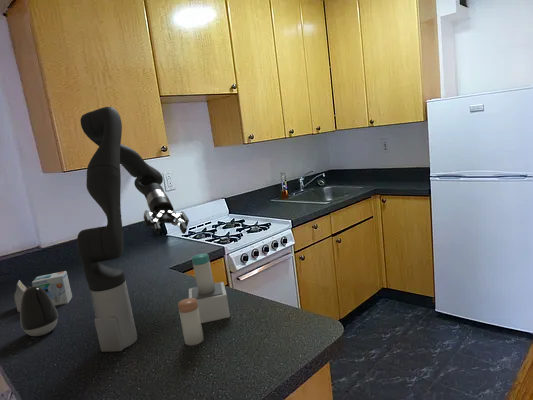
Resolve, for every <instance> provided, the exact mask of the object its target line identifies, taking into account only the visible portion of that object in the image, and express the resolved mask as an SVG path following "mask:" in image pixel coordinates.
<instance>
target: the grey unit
mask: <svg viewBox="0 0 533 400" xmlns="http://www.w3.org/2000/svg"><path fill="white" fill-rule="evenodd" d="M214 287H215V290H214V291H213V292H211V293H208V294H199V292H198V287H197V286H196V287H191V288H188V298H195V299H197V304H198V309H199V315H200V320H201V324H204V323H209V322H214V321H218V320H222V319H226V318H230V317H231V314H230V308H229V302H228V300H229V299H228V295H227V291H226V287H225V283H224V281H220V282H214Z"/></svg>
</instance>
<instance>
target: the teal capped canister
mask: <svg viewBox="0 0 533 400" xmlns="http://www.w3.org/2000/svg"><path fill="white" fill-rule="evenodd" d="M191 262H192V268H193V271H194V276H195V281H196V287H198V292H199V294H208V293H211V292H213V291H214V290H215V287H214V284H215V282H214V277H213V273H212V268H211V267H212V266H211V261H210V256H209V254H208V253H206V252H205V253H199V254H195V255H193V256H192V257H191Z"/></svg>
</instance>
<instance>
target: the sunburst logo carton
mask: <svg viewBox="0 0 533 400" xmlns="http://www.w3.org/2000/svg"><path fill="white" fill-rule="evenodd" d="M26 288H27V286H26V285H24V284H23V282H22V281H21V279H20V280H18V281H17V283H16V289H15V292H14V295H13V298H14V302H15V307H16V310H17V313H20V305H21V299H22V296H23V293H24V292H25V290H26Z"/></svg>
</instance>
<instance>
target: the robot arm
mask: <svg viewBox="0 0 533 400" xmlns="http://www.w3.org/2000/svg"><path fill="white" fill-rule="evenodd" d="M122 124H123V123H122V118H121V115H120V114H119V112H118V110H117V109H116V108H115V107H114V106H103V107H100V108H98V109H96V110H95V109H94V110H92V111H88V112H86V113H84V114H83V115H81V118H80V126H81V129H82V131H83V133H84V134H85V136H86V137H87V138H89V140H90V141H91V142H93V143H94V144H95V145H97V146H98V148H97V149H96V151H95V152H94V154H93V155H92V157H91V159H90V160H89V163H88V165H87V168H86V181H85V182H86V184H85V185H86V189H87V192H88V193H89V195H90V196H91V198H92V199H93V200H94V201H95V202H96V203H97V205H99V207H100V208H101V210H102V211H103V212H104V214H105V216H106V222H107V223H106V225H104V226H98V227H97V226H96V227H92V228H85V229H81V230H80V231H79V232H78V235H77V238H76V246H77V251H78V255H79V258H80V262H81V265H82V268H83V272H84V276H85V280H86V282H87V285H88V290H89V293H90V296H91V303H92V305H93V310H94V315H95V318H94V326H95V330H96V334H97V339H98V342H99V346H100V351H101V352H103V353H104V352H122V351H123V350H124V349H126V348H128V347H130V346H132V345H133V344H135V342H136V341H137V340H138V333H137V329H136V324H135V320H134V314H133V309H132V305H131V300H130V296H129V290H128V286H127V280H126V276H125V272H124V271H123V270H122V269H120V268H114V267H109V266H107V265H105V264H103V263H101V262H106V261H113V260H117V259H119V258H121V257H122V256H123V254H124V251H125V250H124V249H125V248H124V245H125V244H124V230H123V220H122V211H121V210H122V209H121V204H122V203H121V187H122V185H121V184H122V183H121V182H122V180H121V179H122V177H121V166H122V167H123V169H125V170H126V171H127V173H128V174H129V175H130V176H131V177H133V178H135V179H134V182H133V184H134V187H135V189H137V191H138V192H140V193H141V194H142V195H144V197H145V200H146V203H147V206H148V209H149V210H148V209H145V210H144V212H143V220H144V223H145V226H146V227H148V228H149V227H151V228H152V229H153V230H154V232H155V233H156V234H157V235H160V234H161V231H162V228H161V226H160V224H171V225H173V226H176V227H178V228H179V229H180V231H181V234H182V235H185V234H186V233H187V230H188V228H187V227H188V224H189V222H190V220H189V217H188V216H187V214H186V213H185V212H184V211H180V213H179V212H178V213H177V212H176V211H175V210H174V207H173V204H172V202H171V200H170V199H169V197H168V195H167V193H166V192H165V190H164V188H163V186H162V183H163V181H164V178H163V175H162V173H161V172H160V171H159V170H158V169H156V168H155V167H153V166H152V165H149V164H148V163H147V162H146V161H145V160H144V158H143V157H142V156H141V155H140V153H139V152H137V151H136V150H135V149H133V148H131V147H129V146H127V145H125V144H123V143H121V142H122V133H123V132H122V131H123V125H122Z"/></svg>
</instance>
